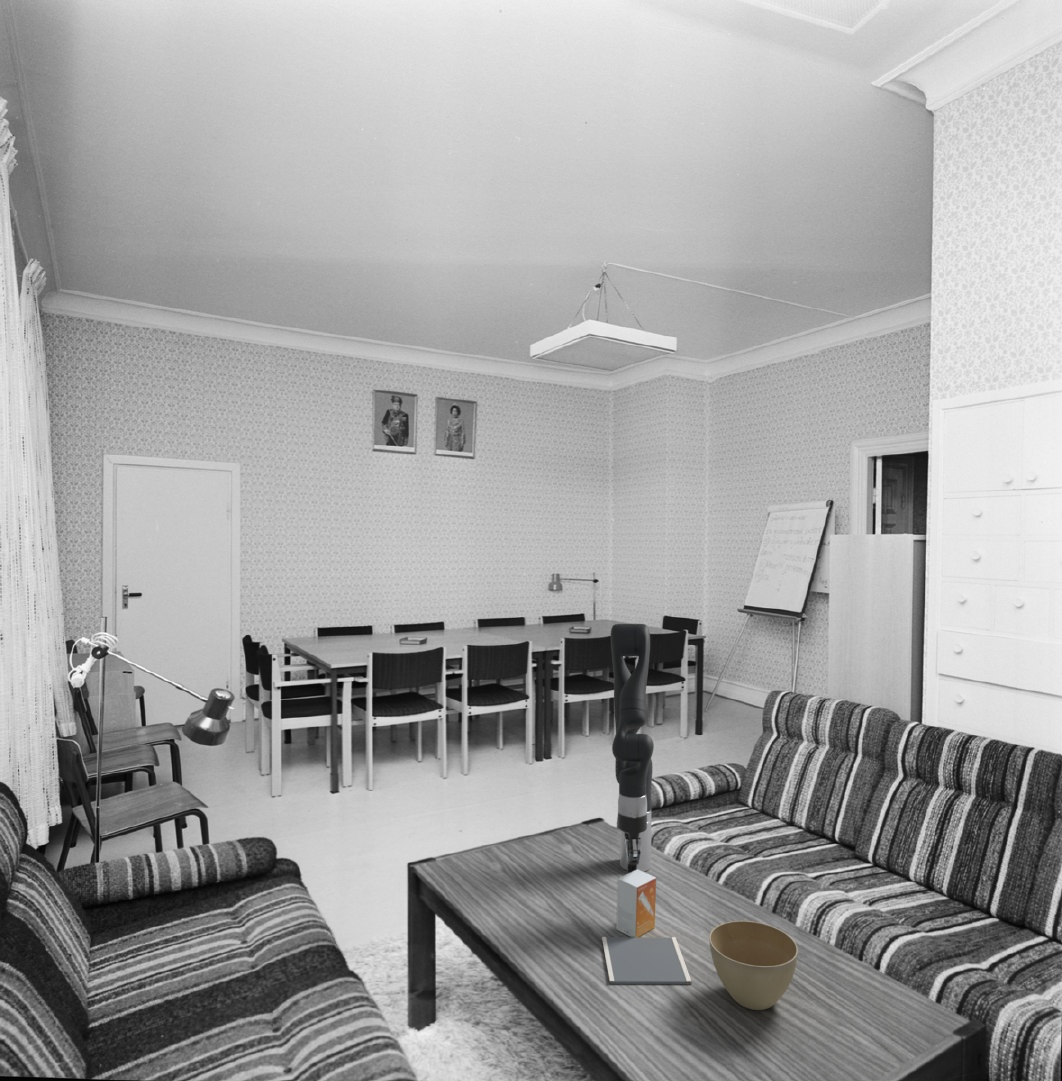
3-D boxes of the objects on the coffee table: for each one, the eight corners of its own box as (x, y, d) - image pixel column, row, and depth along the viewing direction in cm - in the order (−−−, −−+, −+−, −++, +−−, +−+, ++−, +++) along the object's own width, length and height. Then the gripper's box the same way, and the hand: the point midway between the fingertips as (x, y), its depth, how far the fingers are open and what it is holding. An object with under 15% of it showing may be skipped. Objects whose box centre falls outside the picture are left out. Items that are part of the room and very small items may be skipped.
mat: (601, 939, 183) (601, 936, 183) (675, 940, 183) (675, 937, 183) (609, 983, 165) (609, 980, 165) (691, 984, 165) (691, 981, 165)
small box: (635, 940, 183) (636, 887, 183) (615, 929, 188) (616, 878, 187) (655, 928, 189) (656, 877, 189) (635, 918, 193) (636, 868, 193)
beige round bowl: (736, 964, 173) (736, 911, 173) (812, 999, 160) (812, 942, 160) (692, 997, 160) (693, 941, 160) (771, 1038, 148) (771, 977, 147)
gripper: (615, 801, 201) (614, 865, 202) (621, 820, 188) (620, 888, 188) (643, 801, 201) (642, 865, 202) (650, 820, 188) (650, 889, 188)
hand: (632, 876), depth 195 cm, fingers closed
